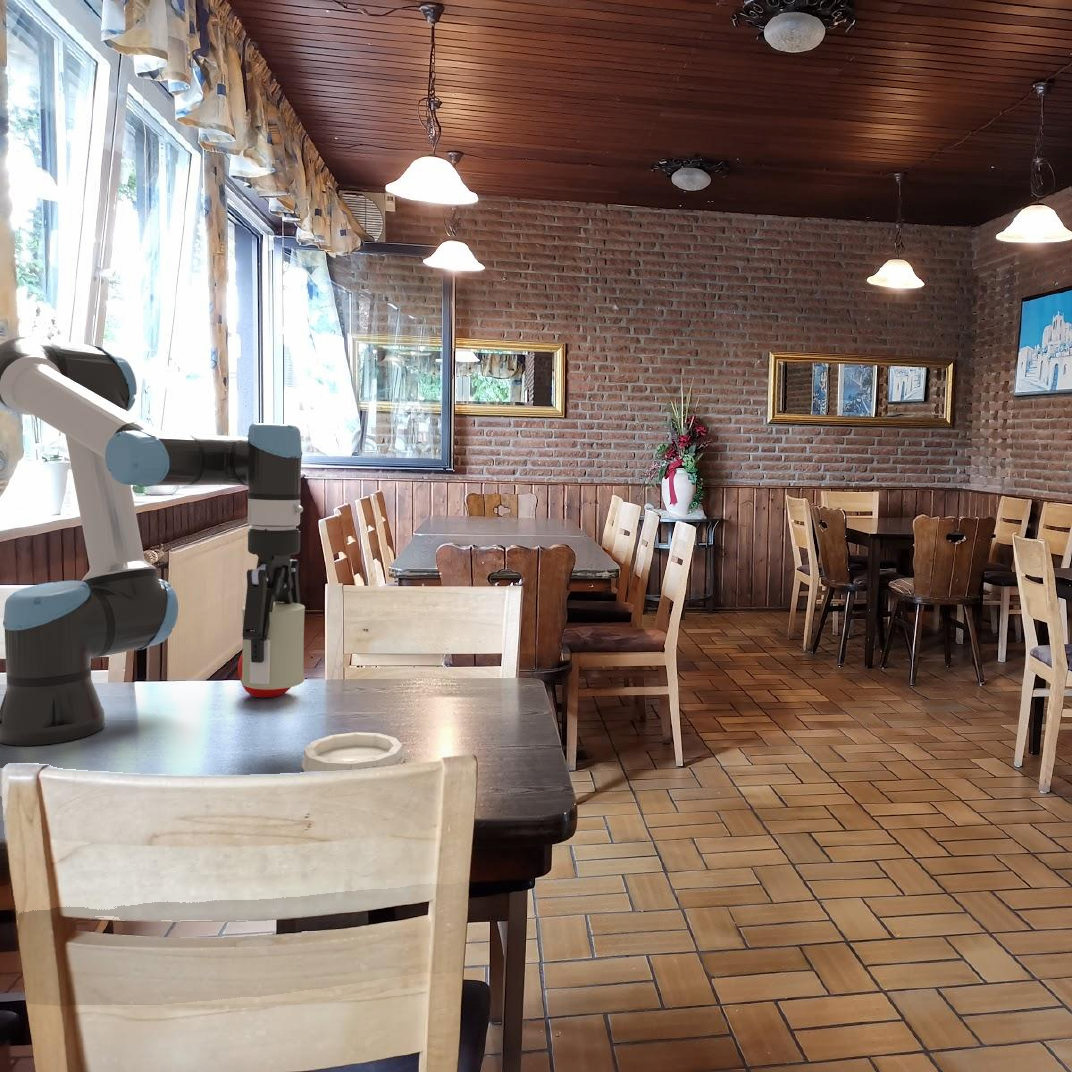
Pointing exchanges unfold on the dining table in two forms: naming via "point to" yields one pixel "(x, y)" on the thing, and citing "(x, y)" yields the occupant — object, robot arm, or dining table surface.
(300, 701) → the dining table surface
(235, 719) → the dining table surface
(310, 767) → the saucer
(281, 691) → the tomato
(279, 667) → the can
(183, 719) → the dining table surface
